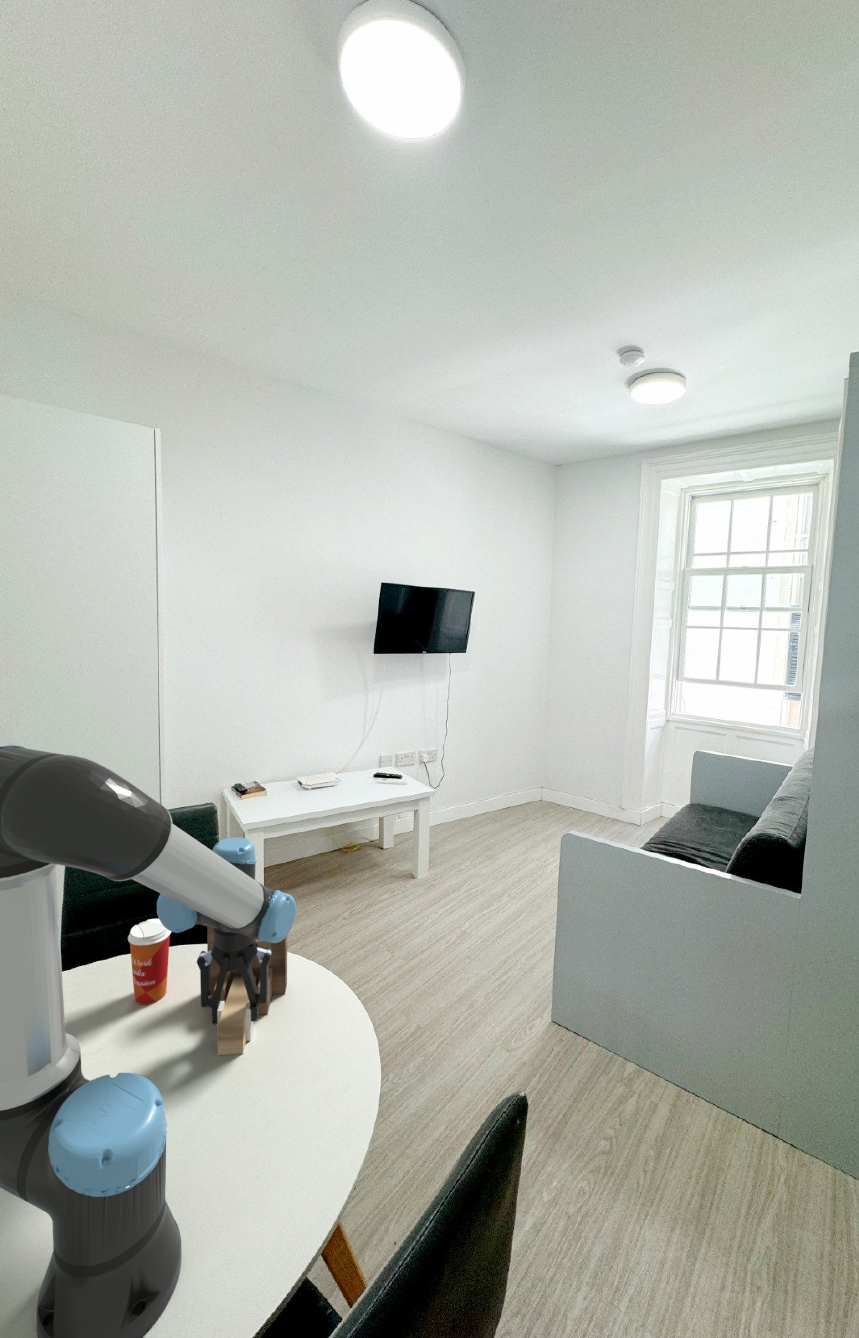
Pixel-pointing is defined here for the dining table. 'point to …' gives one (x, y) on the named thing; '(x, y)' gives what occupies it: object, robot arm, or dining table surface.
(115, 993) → the dining table surface
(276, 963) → the brown notched piece
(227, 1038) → the tan wooden block
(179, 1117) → the dining table surface
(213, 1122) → the dining table surface
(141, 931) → the coffee cup
